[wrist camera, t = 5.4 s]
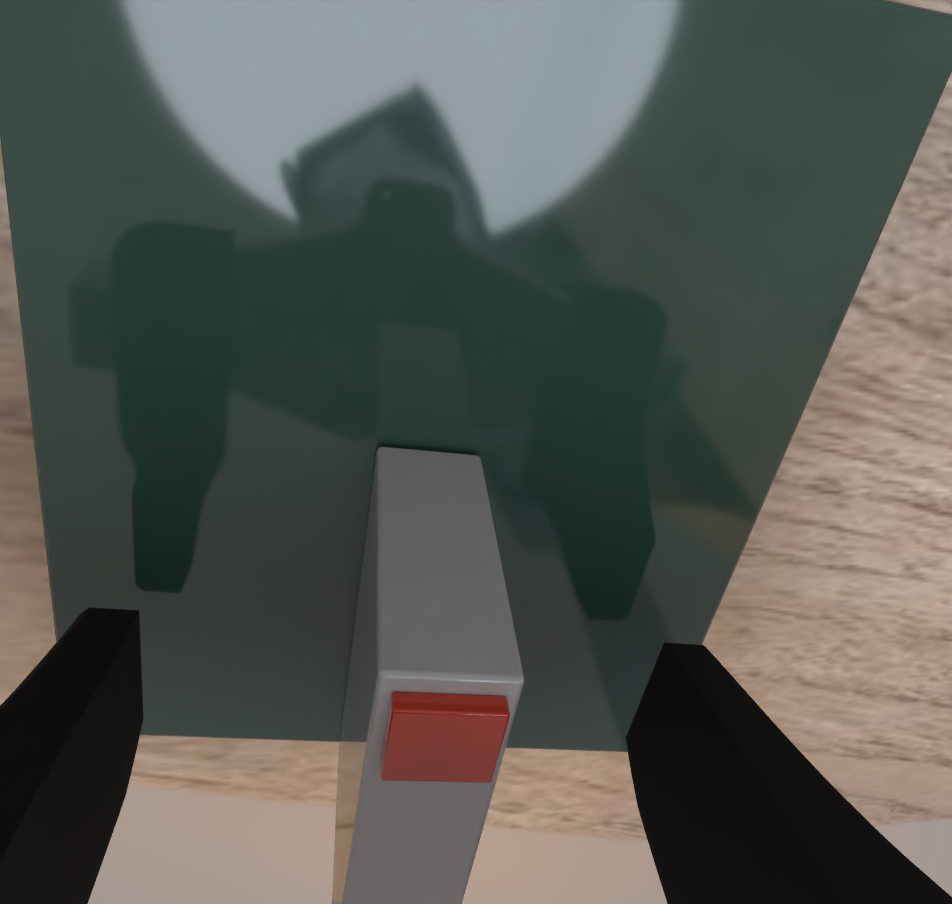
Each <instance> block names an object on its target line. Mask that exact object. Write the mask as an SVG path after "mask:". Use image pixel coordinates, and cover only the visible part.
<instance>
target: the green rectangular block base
mask: <svg viewBox="0 0 952 904" xmlns="http://www.w3.org/2000/svg"><path fill="white" fill-rule="evenodd" d="M951 72H952V14H949V13H944V12H939V11H935V10H930V9H926V8H921V7H917V6H912V5H907V4H903V3H898V2H894V1H889V0H0V139H1V148H2V157H3V166H4V175H5V184H6V193H7V202H8V211H9V220H10V229H11V238H12V247H13V256H14V265H15V274H16V283H17V292H18V301H19V310H20V319H21V328H22V337H23V346H24V355H25V364H26V373H27V382H28V391H29V400H30V409H31V418H32V427H33V436H34V445H35V454H36V463H37V472H38V481H39V490H40V499H41V508H42V517H43V526H44V535H45V544H46V553H47V562H48V571H49V580H50V589H51V598H52V607H53V616H54V625H55V634H56V643H57V642H58V640H59V639H60V638H61V637H62V636H63V634H64V633H65V632H66V631H67V629H68V628H69V627H70V626H71V625H72V623H73V622H74V621H75V620H76V618H77V617H78V616H79V615H80V613H82V612H83V611H85V610H86V609H88V608H89V607H92V608H108V609H125V610H139V618H140V643H141V669H142V694H143V723H142V728H141V732H140V735H153V736H182V737H211V738H240V739H269V740H298V741H327V742H340V736H341V728H342V720H343V713H344V705H345V697H346V689H347V681H348V673H349V665H350V657H351V650H352V642H353V634H354V626H355V618H356V610H357V602H358V594H359V586H360V579H361V571H362V563H363V555H364V547H365V539H366V531H367V523H368V516H369V508H370V500H371V492H372V484H373V476H374V468H375V460H376V453H377V450H378V449H379V447H393V448H404V449H415V450H426V451H437V452H448V453H459V454H470V455H477V456H480V458H481V461H482V466H483V472H484V477H485V482H486V487H487V492H488V497H489V502H490V507H491V512H492V517H493V522H494V527H495V532H496V538H497V543H498V548H499V553H500V558H501V563H502V568H503V573H504V578H505V583H506V588H507V593H508V598H509V603H510V609H511V614H512V619H513V624H514V629H515V634H516V639H517V644H518V649H519V654H520V659H521V664H522V669H523V675H524V680H525V681H524V684H523V688H522V691H521V695H520V698H519V702H518V706H517V709H516V713H515V716H514V720H513V723H512V727H511V730H510V734H509V737H508V741H507V745H506V748H529V749H558V750H587V751H616V752H628V749H627V743H626V736H627V733H628V731H629V728H630V726H631V723H632V721H633V718H634V716H635V713H636V711H637V708H638V706H639V703H640V701H641V698H642V696H643V693H644V691H645V688H646V686H647V683H648V681H649V678H650V676H651V674H652V671H653V669H654V666H655V664H656V661H657V659H658V656H659V654H660V651H661V649H662V646H663V644H664V643H679V644H695V645H702V643H703V641H704V638H705V636H706V634H707V631H708V629H709V627H710V625H711V622H712V620H713V618H714V615H715V613H716V611H717V609H718V606H719V604H720V602H721V599H722V597H723V595H724V593H725V590H726V588H727V586H728V583H729V581H730V579H731V576H732V574H733V572H734V570H735V567H736V565H737V563H738V560H739V558H740V556H741V554H742V551H743V549H744V547H745V544H746V542H747V540H748V537H749V535H750V533H751V531H752V528H753V526H754V524H755V521H756V519H757V517H758V515H759V512H760V510H761V508H762V505H763V503H764V501H765V498H766V496H767V494H768V492H769V489H770V487H771V485H772V482H773V480H774V478H775V476H776V473H777V471H778V469H779V466H780V464H781V462H782V459H783V457H784V455H785V453H786V450H787V448H788V446H789V443H790V441H791V439H792V437H793V434H794V432H795V430H796V427H797V425H798V423H799V420H800V418H801V416H802V414H803V411H804V409H805V407H806V404H807V402H808V400H809V398H810V395H811V393H812V391H813V388H814V386H815V384H816V381H817V379H818V377H819V375H820V372H821V370H822V368H823V365H824V363H825V361H826V359H827V356H828V354H829V352H830V349H831V347H832V345H833V342H834V340H835V338H836V336H837V333H838V331H839V329H840V326H841V324H842V322H843V320H844V317H845V315H846V313H847V310H848V308H849V306H850V303H851V301H852V299H853V297H854V294H855V292H856V290H857V287H858V285H859V283H860V281H861V278H862V276H863V274H864V271H865V269H866V267H867V264H868V262H869V260H870V258H871V255H872V253H873V251H874V248H875V246H876V244H877V242H878V239H879V237H880V235H881V232H882V230H883V228H884V225H885V223H886V221H887V219H888V216H889V214H890V212H891V209H892V207H893V205H894V203H895V200H896V198H897V196H898V193H899V191H900V189H901V186H902V184H903V182H904V180H905V177H906V175H907V173H908V170H909V168H910V166H911V164H912V161H913V159H914V157H915V154H916V152H917V150H918V147H919V145H920V143H921V141H922V138H923V136H924V134H925V131H926V129H927V127H928V125H929V122H930V120H931V118H932V115H933V113H934V111H935V108H936V106H937V104H938V102H939V99H940V97H941V95H942V92H943V90H944V88H945V86H946V83H947V81H948V79H949V76H950V74H951Z"/></svg>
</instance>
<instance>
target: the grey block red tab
mask: <svg viewBox="0 0 952 904" xmlns="http://www.w3.org/2000/svg"><path fill="white" fill-rule="evenodd" d="M524 681H525V680H524V675H523V669H522V664H521V659H520V654H519V649H518V644H517V639H516V634H515V629H514V624H513V619H512V614H511V609H510V603H509V598H508V593H507V588H506V583H505V578H504V573H503V568H502V563H501V558H500V553H499V548H498V543H497V538H496V532H495V527H494V522H493V517H492V512H491V507H490V502H489V497H488V492H487V487H486V482H485V477H484V472H483V466H482V461H481V458H480V456H477V455H470V454H459V453H448V452H437V451H426V450H415V449H404V448H393V447H379V449H378V450H377V453H376V460H375V468H374V476H373V484H372V492H371V500H370V508H369V516H368V523H367V531H366V539H365V547H364V555H363V563H362V571H361V579H360V586H359V594H358V602H357V610H356V618H355V626H354V634H353V642H352V650H351V657H350V665H349V673H348V681H347V689H346V697H345V705H344V713H343V720H342V728H341V736H340V744H339V761H338V783H337V805H336V827H335V850H334V873H333V893H332V904H462V900H463V897H464V893H465V890H466V886H467V883H468V879H469V875H470V872H471V869H472V865H473V861H474V858H475V854H476V851H477V847H478V844H479V840H480V836H481V833H482V830H483V826H484V823H485V819H486V815H487V812H488V808H489V805H490V801H491V798H492V794H493V791H494V787H495V784H496V780H497V776H498V773H499V769H500V766H501V762H502V759H503V755H504V752H505V748H506V745H507V741H508V737H509V734H510V730H511V727H512V723H513V720H514V716H515V713H516V709H517V706H518V702H519V698H520V695H521V691H522V688H523V684H524Z"/></svg>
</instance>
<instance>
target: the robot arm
mask: <svg viewBox="0 0 952 904" xmlns="http://www.w3.org/2000/svg"><path fill="white" fill-rule="evenodd" d="M142 723H143V694H142V669H141V643H140V618H139V610H125V609H108V608H92V607H89V608H88V609H86V610H85V611H83V612H82V613H80V615H79V616H78V617H77V618H76V620H75V621H74V622H73V623H72V625H71V626H70V627H69V628H68V629H67V631H66V632H65V633H64V634H63V636H62V637H61V638H60V639H59V640H58V642H57V643H56V644H55V645H54V646H53V647H52V649H51V650H50V651H49V652H48V653H47V655H46V656H45V657H44V658H43V659H42V660H41V661H40V663H39V664H38V665H37V666H36V667H35V668H34V669H33V671H32V672H31V673H30V674H29V675H28V676H27V677H26V678H25V680H24V681H23V682H22V683H21V684H20V685H19V686H18V687H17V688H16V690H15V691H14V692H13V693H12V694H11V695H10V696H9V697H8V698H7V699H6V700H5V701H4V702H3V704H2V705H1V706H0V904H87V903H88V900H89V898H90V895H91V892H92V889H93V886H94V884H95V881H96V878H97V875H98V873H99V870H100V867H101V864H102V861H103V858H104V856H105V853H106V850H107V847H108V844H109V842H110V839H111V836H112V833H113V830H114V827H115V824H116V822H117V819H118V816H119V813H120V810H121V807H122V804H123V801H124V798H125V795H126V792H127V787H128V783H129V779H130V775H131V771H132V767H133V763H134V758H135V754H136V750H137V745H138V741H139V736H140V732H141V728H142ZM626 743H627V749H628V755H629V761H630V767H631V773H632V779H633V784H634V789H635V794H636V799H637V804H638V809H639V812H640V816H641V819H642V822H643V826H644V829H645V832H646V836H647V839H648V842H649V845H650V849H651V852H652V855H653V859H654V862H655V865H656V868H657V871H658V875H659V878H660V881H661V884H662V887H663V890H664V893H665V897H666V900H667V903H668V904H952V897H951V896H950V895H949V894H947V893H946V892H945V891H944V890H943V889H942V888H941V887H939V886H938V885H937V884H936V883H935V882H934V881H932V880H931V879H930V878H929V877H928V876H927V875H926V874H925V873H923V872H922V871H921V870H920V869H919V868H918V867H917V866H915V865H914V864H913V863H912V862H911V861H910V860H909V859H907V858H906V857H905V856H904V855H903V854H902V853H901V852H900V851H899V850H898V849H897V848H895V847H894V846H893V845H892V844H891V843H890V842H889V841H888V840H887V839H886V838H885V837H884V836H883V835H882V834H880V833H879V832H878V831H877V830H876V829H875V828H874V827H873V826H872V825H871V824H870V823H869V822H868V821H867V820H866V819H865V818H864V817H863V816H862V815H861V814H860V813H859V812H858V811H857V810H856V809H855V808H854V807H853V806H852V805H851V804H850V803H849V802H848V801H847V800H846V799H845V798H844V797H843V796H842V795H841V794H840V793H839V792H838V791H837V790H836V789H835V788H834V787H833V786H832V785H831V784H830V783H829V782H828V781H827V780H826V779H825V778H824V777H823V776H822V775H821V774H820V772H819V771H818V770H817V769H816V768H815V767H814V766H813V765H812V764H811V763H810V762H809V761H808V760H807V759H806V758H805V757H804V755H803V754H802V753H801V752H800V751H799V750H798V749H797V748H796V747H795V746H794V745H793V744H792V743H791V741H790V740H789V739H788V738H787V737H786V736H785V735H784V734H783V733H782V732H781V730H780V729H779V728H778V727H777V726H776V725H775V724H774V723H773V722H772V720H771V719H770V718H769V717H768V716H767V715H766V714H765V713H764V712H763V710H762V709H761V708H760V707H759V706H758V705H757V704H756V703H755V701H754V700H753V699H752V698H751V697H750V696H749V695H748V694H747V692H746V691H745V690H744V689H743V688H742V687H741V686H740V685H739V683H738V682H737V681H736V680H735V679H734V678H733V677H732V676H731V674H730V673H729V672H728V671H727V670H726V669H725V668H724V667H723V666H722V664H721V663H720V662H719V661H718V660H717V659H716V658H715V657H714V656H713V655H712V654H711V653H710V651H709V650H708V649H707V648H706V647H705V646H704V645H695V644H679V643H664V644H663V646H662V649H661V651H660V654H659V656H658V659H657V661H656V664H655V666H654V669H653V671H652V674H651V676H650V678H649V681H648V683H647V686H646V688H645V691H644V693H643V696H642V698H641V701H640V703H639V706H638V708H637V711H636V713H635V716H634V718H633V721H632V723H631V726H630V728H629V731H628V733H627V736H626Z"/></svg>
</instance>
